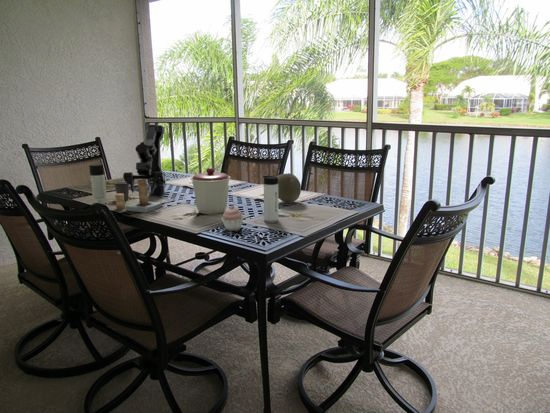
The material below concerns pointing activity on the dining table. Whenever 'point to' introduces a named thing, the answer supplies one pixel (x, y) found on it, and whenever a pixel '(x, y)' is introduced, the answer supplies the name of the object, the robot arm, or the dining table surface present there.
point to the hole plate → (143, 207)
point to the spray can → (98, 183)
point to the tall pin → (143, 192)
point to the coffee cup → (122, 189)
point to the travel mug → (270, 199)
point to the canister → (211, 191)
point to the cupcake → (232, 218)
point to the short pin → (120, 201)
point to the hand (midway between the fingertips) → (142, 191)
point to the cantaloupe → (288, 187)
